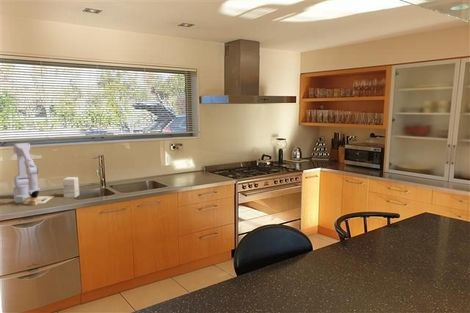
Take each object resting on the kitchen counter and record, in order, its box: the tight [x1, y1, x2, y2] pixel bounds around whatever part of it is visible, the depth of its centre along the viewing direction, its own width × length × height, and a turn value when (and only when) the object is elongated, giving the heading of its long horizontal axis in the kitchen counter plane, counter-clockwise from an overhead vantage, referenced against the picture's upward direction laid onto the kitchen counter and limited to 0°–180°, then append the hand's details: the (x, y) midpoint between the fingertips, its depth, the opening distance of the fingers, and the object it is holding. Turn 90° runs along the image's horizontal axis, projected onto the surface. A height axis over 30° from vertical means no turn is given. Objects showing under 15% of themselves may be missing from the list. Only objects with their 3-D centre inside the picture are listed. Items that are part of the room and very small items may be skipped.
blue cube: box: [14, 195, 27, 204], centre depth 247 cm, size 5×5×5 cm
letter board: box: [22, 195, 55, 205], centre depth 254 cm, size 15×21×1 cm
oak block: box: [25, 197, 40, 206], centre depth 241 cm, size 6×5×4 cm
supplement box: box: [62, 176, 80, 198], centre depth 265 cm, size 9×9×15 cm
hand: (34, 201), depth 244 cm, fingers closed, pressing on oak block
